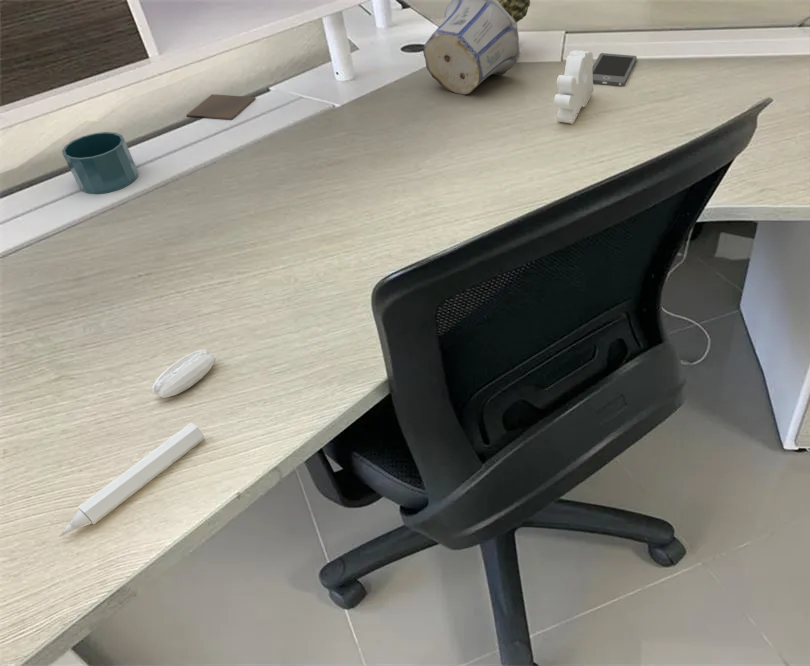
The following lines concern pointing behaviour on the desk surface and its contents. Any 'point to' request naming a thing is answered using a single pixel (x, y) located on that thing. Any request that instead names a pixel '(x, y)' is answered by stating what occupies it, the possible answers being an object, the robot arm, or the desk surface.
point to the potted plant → (474, 42)
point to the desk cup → (100, 162)
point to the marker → (135, 477)
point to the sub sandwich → (183, 373)
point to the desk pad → (221, 107)
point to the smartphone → (612, 68)
